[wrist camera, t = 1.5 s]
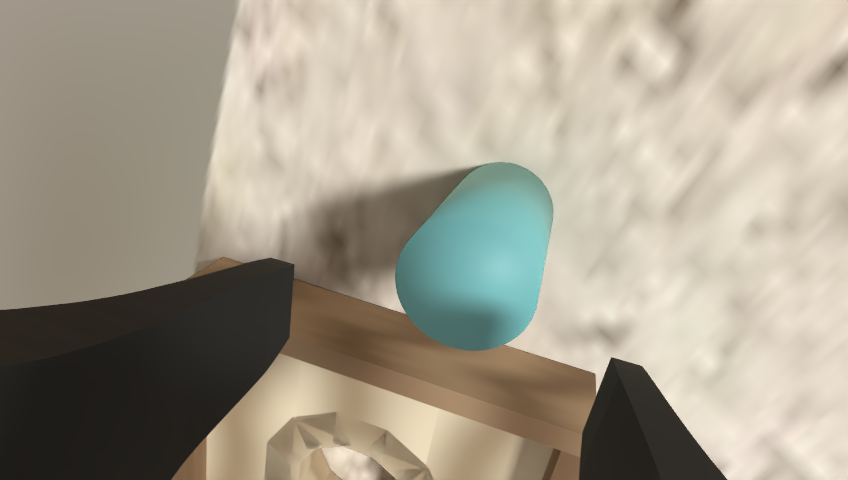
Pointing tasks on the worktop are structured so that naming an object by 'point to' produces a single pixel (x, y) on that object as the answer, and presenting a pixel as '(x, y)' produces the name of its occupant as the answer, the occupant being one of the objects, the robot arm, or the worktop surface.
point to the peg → (478, 259)
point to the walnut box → (395, 403)
